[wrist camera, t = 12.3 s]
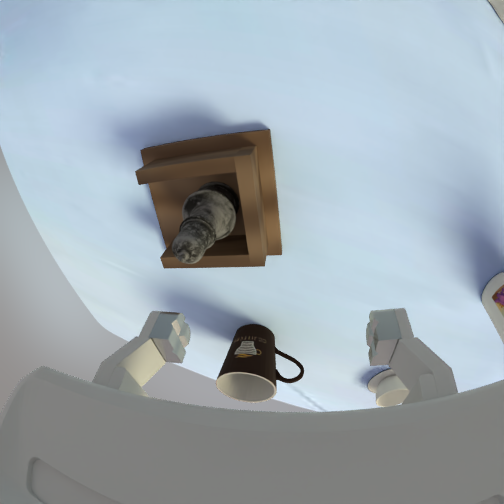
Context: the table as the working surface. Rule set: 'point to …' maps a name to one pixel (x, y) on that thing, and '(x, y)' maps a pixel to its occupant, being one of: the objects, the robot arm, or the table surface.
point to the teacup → (388, 389)
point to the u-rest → (226, 171)
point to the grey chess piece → (205, 220)
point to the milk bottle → (495, 302)
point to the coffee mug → (252, 366)
